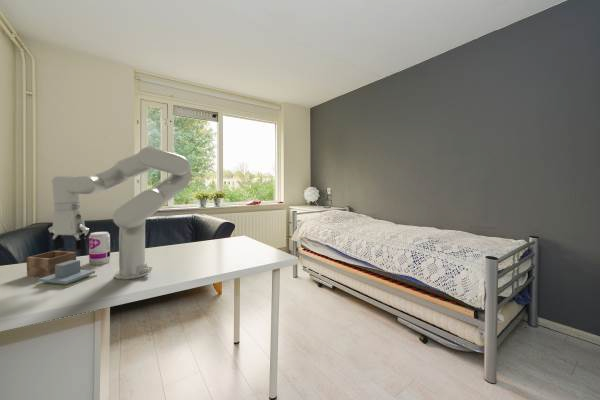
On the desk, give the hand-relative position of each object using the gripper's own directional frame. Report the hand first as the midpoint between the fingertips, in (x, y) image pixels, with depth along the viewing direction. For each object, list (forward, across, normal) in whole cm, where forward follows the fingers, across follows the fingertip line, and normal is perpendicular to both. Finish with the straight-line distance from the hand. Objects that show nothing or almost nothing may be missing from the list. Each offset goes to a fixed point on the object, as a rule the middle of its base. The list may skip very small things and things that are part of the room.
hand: (69, 248), depth 103 cm
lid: (+13, +1, +1) cm, 13 cm away
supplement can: (+13, +9, -21) cm, 27 cm away
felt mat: (+13, +1, +1) cm, 13 cm away
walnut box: (+13, +16, -5) cm, 21 cm away
